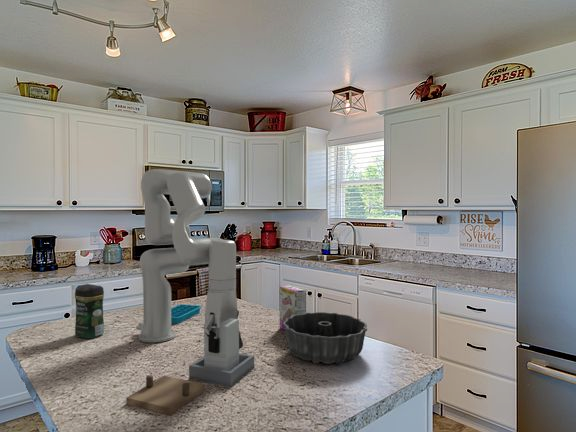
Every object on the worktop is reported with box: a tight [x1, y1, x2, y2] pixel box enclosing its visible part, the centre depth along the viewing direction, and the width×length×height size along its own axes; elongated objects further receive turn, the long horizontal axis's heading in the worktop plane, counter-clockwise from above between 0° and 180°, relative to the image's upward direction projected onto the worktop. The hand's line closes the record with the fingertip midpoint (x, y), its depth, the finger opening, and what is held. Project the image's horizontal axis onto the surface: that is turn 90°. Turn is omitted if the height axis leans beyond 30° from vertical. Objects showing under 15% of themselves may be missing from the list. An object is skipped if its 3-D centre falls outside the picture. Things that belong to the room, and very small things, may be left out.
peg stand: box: [125, 374, 206, 416], centre depth 94 cm, size 13×13×4 cm
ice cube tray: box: [171, 303, 203, 324], centre depth 165 cm, size 12×20×3 cm, turn 164°
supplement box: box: [203, 318, 240, 371], centre depth 108 cm, size 7×7×13 cm
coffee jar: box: [74, 283, 105, 340], centre depth 140 cm, size 10×8×19 cm
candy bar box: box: [278, 285, 307, 331], centre depth 145 cm, size 11×5×16 cm, turn 35°
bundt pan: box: [283, 311, 368, 365], centre depth 122 cm, size 26×26×10 cm
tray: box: [188, 352, 255, 388], centre depth 107 cm, size 13×13×4 cm
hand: (222, 346), depth 108 cm, fingers open, 7 cm apart
